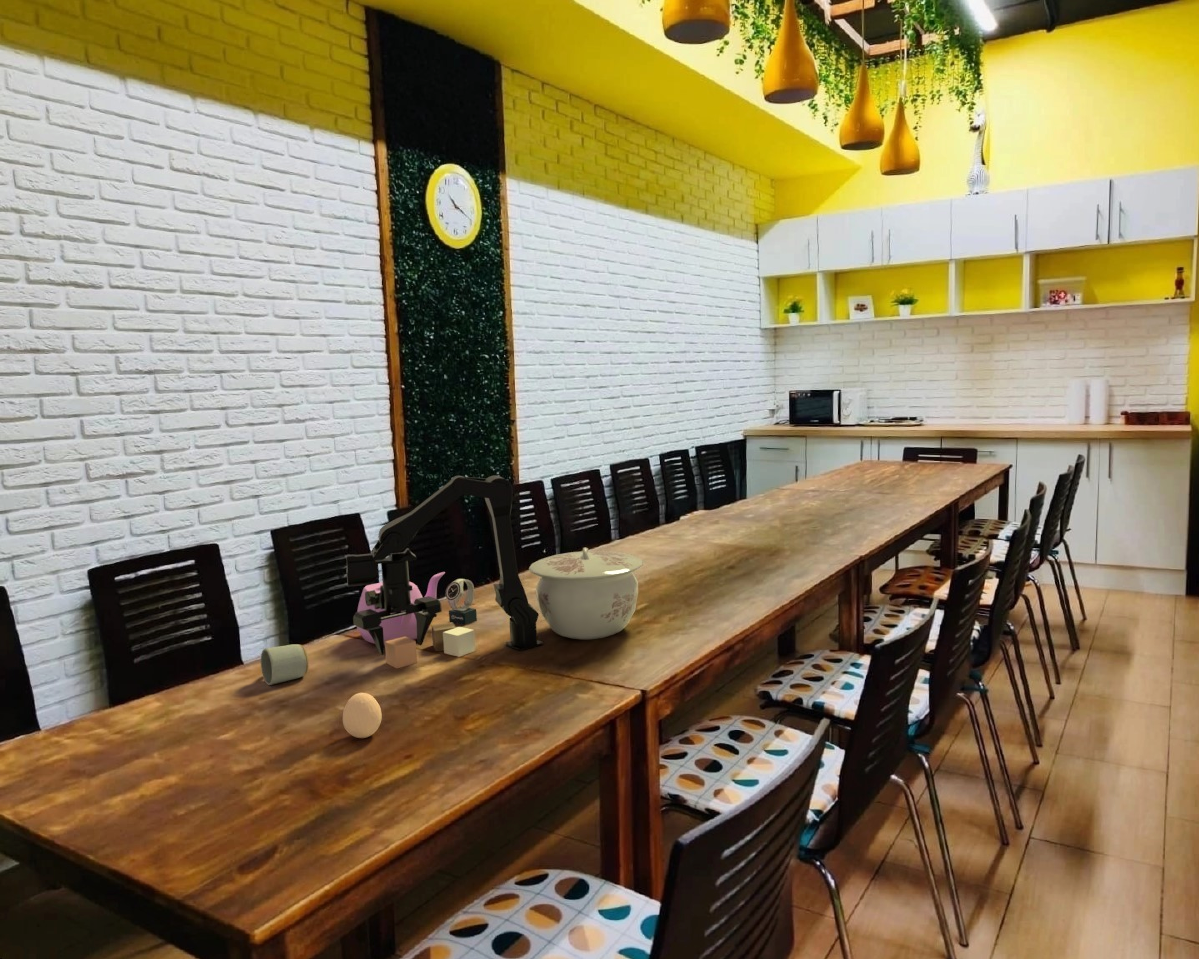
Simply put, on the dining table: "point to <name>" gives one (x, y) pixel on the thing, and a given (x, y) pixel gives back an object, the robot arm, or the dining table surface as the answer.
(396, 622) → the teapot
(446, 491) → the robot arm
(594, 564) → the chamber pot
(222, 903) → the dining table surface
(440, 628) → the walnut cube
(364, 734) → the egg
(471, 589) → the watch
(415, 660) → the terracotta cube
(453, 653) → the cream cube
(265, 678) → the ceramic mug
